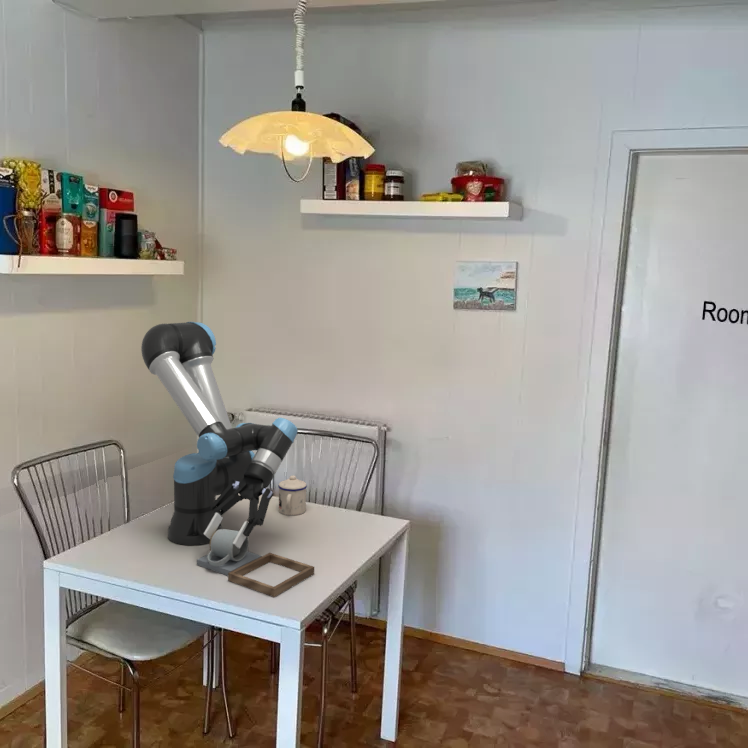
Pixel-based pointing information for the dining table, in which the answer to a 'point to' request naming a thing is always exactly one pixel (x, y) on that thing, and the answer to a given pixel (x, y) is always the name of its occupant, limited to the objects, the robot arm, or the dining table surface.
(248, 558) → the grey board
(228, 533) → the ceramic mug
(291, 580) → the walnut frame
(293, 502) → the teacup with lid
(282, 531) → the dining table surface
